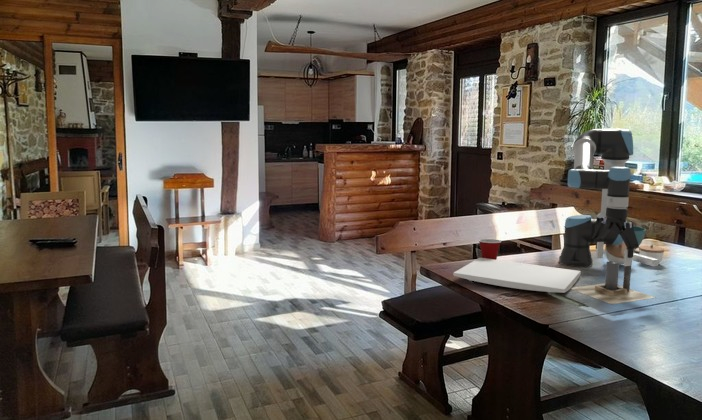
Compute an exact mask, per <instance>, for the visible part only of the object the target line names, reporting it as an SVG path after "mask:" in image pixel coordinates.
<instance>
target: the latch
mask: <svg viewBox="0 0 702 420" xmlns="http://www.w3.org/2000/svg"><path fill="white" fill-rule="evenodd" d="M623 258H624V259H625V252H624V257H623ZM632 262H637V263H641V264H644V265H646V266H647V265H648V266H651V267H658V266H659V263H658V262H659V259H655V258H651V257H647V256H644V255H640V254H639V253H636V252H635V251H634V252H633V258H632Z"/></svg>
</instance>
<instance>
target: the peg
mask: <svg viewBox="0 0 702 420" xmlns="http://www.w3.org/2000/svg"><path fill="white" fill-rule="evenodd" d="M605 266H606V268H605V282H604V283H605V288H606V289H609V290H617V286H618V285H619V282H618V281H619V270H620V265H619V263H618V262H612V261H609V260H608V261H606V265H605Z"/></svg>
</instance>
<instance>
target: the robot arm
mask: <svg viewBox="0 0 702 420" xmlns="http://www.w3.org/2000/svg"><path fill="white" fill-rule="evenodd" d="M572 152H573V153H574V161H573V168H571V169H568V171H567V186H568V188H574V189H600V190H601V191H602V192H601V205H600V212H599V213H598V214H597V215H596V218H593V216H592V215H589V214H579V215H578V214H576V215H570V216H568V217H566V218H565V221H564V226H563V227H564V236H563V246H562V250H561V253H560V255H559V257H558V262H559V263H560V264H562V265H565V266H568V267H577V268H579V267H580V268H585V267H586V268H587V267H591V266H592V265H593V263H594V262H593V257H592V253H591V249H590V247H591V244H595V250H596V251H595V252H596V253H595V258H596V259H603V258H604V245H606V244H610V245H620V244H622V243H623V241H624V243H625V245H626V247H627V249H625V260H624V264H623V266H624V267H625V266H631V267H632V264H631V260H632V258H633V252H634V253H635V251H634V249H635V248H636V249H639V247H640V245H638V242H637V238H636V235H635V232H634V229H633V226H634V223H633V222H631V221H630V222H628V221H627V218H628V212H629V209H628V207H629V199H630V197H629V196H630V186H631V185H630V183H631V176H632V175H631V173H632V172H631V168H630V167H626V162H628V161H629V160H630V156H633V155H634V139H633V133H632V130H631V129H628V128H592V129H590V130H589V129H588V130H586V131H584V132H583V133H581V134H579V136H578V137H576V139H575V140H574V142H573V146H572ZM594 155H599V156H600V155H601V156H600V158H601V160H602V161H603V163H604V164H603V169H594ZM636 249H635V250H636ZM632 261H633V260H632Z"/></svg>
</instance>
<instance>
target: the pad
mask: <svg viewBox="0 0 702 420" xmlns="http://www.w3.org/2000/svg"><path fill="white" fill-rule="evenodd" d="M551 297H553V298H556V299H558V300H561V301H563V302H565V303H568V304H570V305H573V306H576V307H585V306H587V304H585V303H583V302H580V301H578V300H575V299H573V298H569V297H567V296H565V295H563V294H559V292H555V293H554V294H552V295H551Z"/></svg>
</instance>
